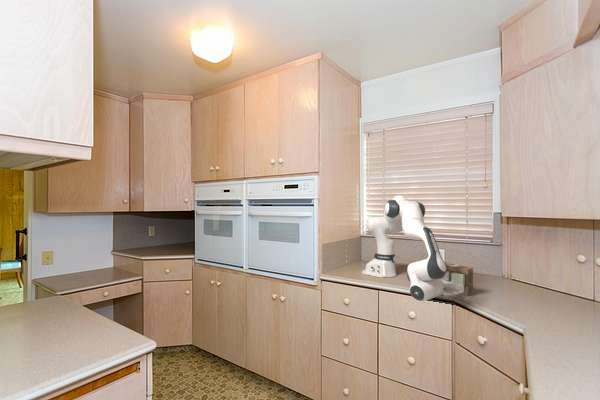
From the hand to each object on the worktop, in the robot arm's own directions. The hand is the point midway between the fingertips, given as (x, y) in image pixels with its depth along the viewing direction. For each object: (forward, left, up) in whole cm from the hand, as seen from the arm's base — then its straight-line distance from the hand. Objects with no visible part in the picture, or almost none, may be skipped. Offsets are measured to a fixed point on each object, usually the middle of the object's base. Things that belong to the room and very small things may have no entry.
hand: (449, 282), depth 160 cm
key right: (+4, +9, -3) cm, 10 cm away
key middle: (-3, +12, -3) cm, 13 cm away
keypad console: (-2, +15, -8) cm, 17 cm away
